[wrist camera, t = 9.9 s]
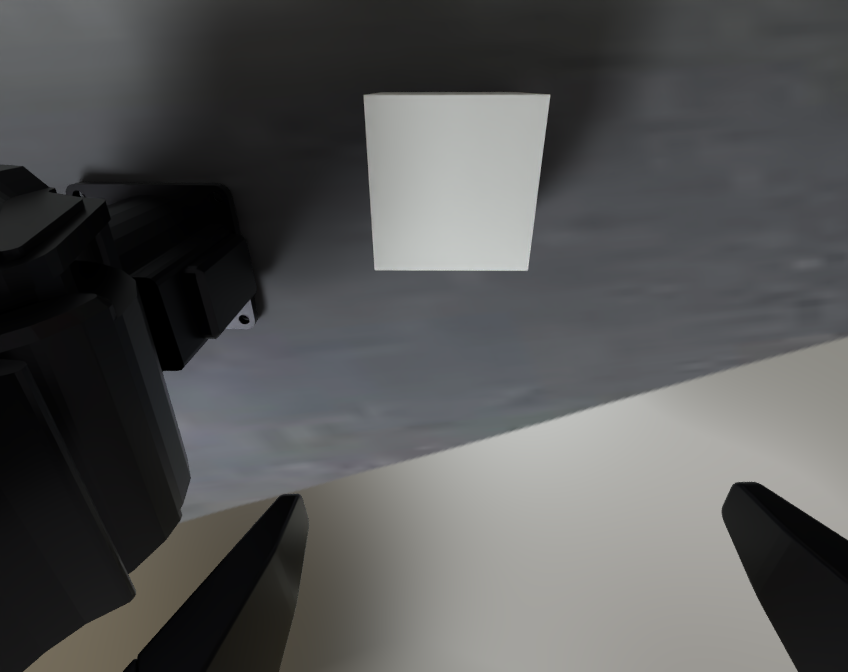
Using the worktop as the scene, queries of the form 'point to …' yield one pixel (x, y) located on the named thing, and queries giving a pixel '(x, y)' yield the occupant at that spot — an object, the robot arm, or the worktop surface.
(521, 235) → the grey cube
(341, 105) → the worktop surface
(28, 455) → the robot arm
